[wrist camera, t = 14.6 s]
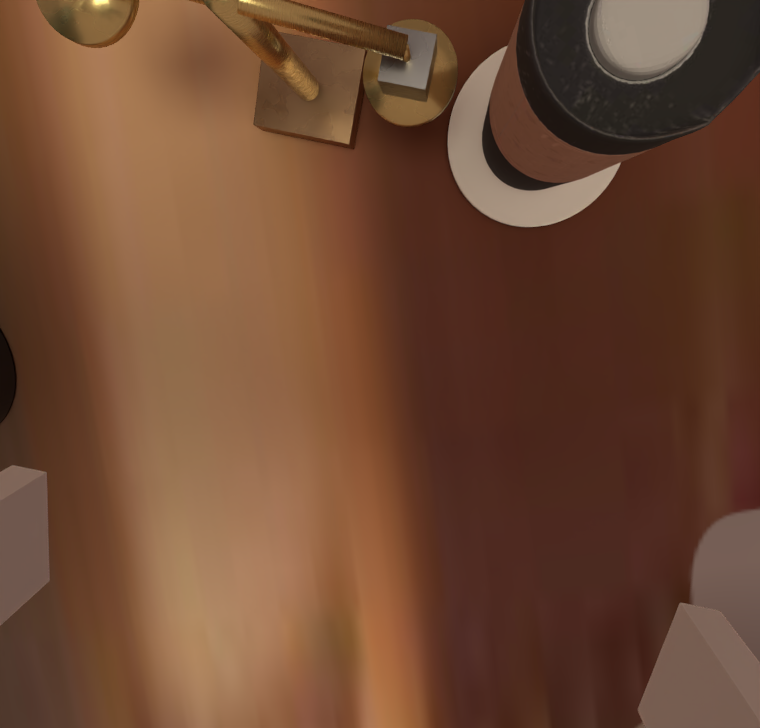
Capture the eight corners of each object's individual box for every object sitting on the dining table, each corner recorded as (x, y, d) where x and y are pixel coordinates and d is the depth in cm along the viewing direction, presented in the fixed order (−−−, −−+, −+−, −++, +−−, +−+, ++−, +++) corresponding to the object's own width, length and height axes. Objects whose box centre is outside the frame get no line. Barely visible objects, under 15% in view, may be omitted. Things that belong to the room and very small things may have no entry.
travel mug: (475, 81, 33) (524, -131, 14) (594, 67, 32) (824, -182, 13) (478, 200, 35) (524, 157, 16) (591, 190, 34) (786, 133, 15)
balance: (178, 113, 37) (-52, 6, 20) (186, 23, 36) (-58, -178, 18) (442, 167, 36) (442, 103, 19) (463, 76, 34) (484, -86, 17)
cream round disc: (430, 208, 37) (430, 207, 36) (470, 27, 33) (471, 20, 32) (591, 242, 36) (595, 242, 35) (648, 60, 33) (655, 54, 32)
